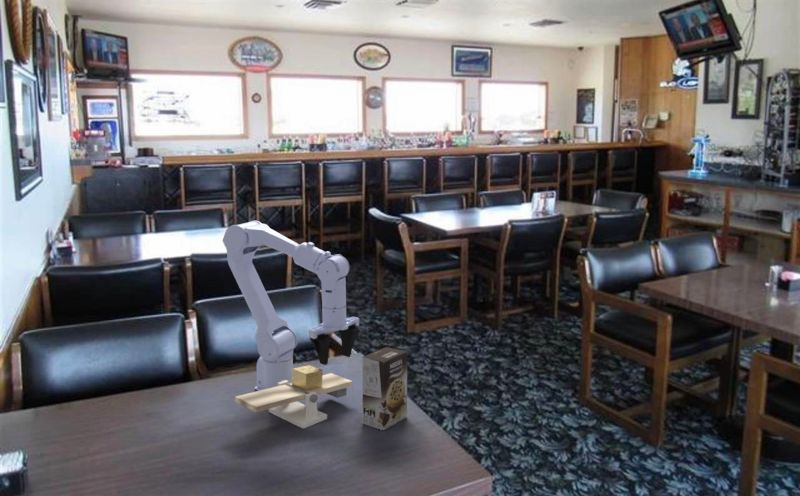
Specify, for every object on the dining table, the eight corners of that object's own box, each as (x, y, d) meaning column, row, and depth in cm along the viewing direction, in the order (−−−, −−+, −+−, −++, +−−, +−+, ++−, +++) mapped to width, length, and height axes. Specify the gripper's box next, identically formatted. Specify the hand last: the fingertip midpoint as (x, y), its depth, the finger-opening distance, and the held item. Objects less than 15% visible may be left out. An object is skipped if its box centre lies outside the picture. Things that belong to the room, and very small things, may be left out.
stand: (268, 411, 155) (267, 384, 153) (292, 402, 160) (291, 376, 158) (303, 428, 146) (302, 399, 145) (327, 418, 151) (326, 390, 150)
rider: (291, 385, 154) (292, 368, 153) (308, 381, 157) (309, 365, 157) (305, 390, 150) (306, 373, 150) (321, 386, 154) (322, 370, 154)
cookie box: (383, 431, 145) (383, 362, 142) (361, 423, 148) (360, 356, 145) (408, 417, 152) (408, 351, 149) (386, 410, 156) (386, 345, 153)
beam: (234, 412, 145) (234, 395, 144) (329, 386, 165) (330, 372, 165) (256, 423, 139) (256, 406, 139) (352, 395, 160) (353, 380, 159)
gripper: (321, 315, 149) (323, 371, 152) (367, 303, 160) (368, 356, 162) (302, 309, 154) (304, 364, 156) (347, 298, 164) (348, 349, 167)
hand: (335, 359), depth 160 cm, fingers open, 7 cm apart
